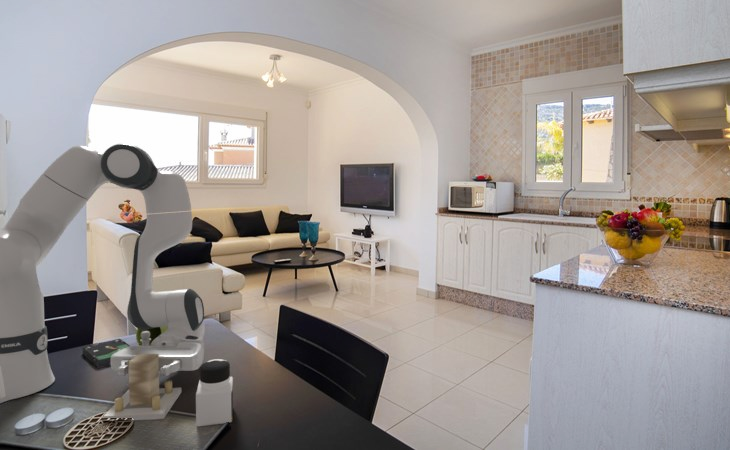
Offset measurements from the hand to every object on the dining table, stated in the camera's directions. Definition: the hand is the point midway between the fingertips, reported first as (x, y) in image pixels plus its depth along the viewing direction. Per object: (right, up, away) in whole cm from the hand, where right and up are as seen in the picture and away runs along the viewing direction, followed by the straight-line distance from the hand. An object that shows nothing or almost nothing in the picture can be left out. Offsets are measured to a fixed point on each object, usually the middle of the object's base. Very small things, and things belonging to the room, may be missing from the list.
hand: (142, 372), depth 92 cm
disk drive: (-26, -6, +30) cm, 40 cm away
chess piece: (-14, -6, +29) cm, 33 cm away
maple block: (0, -7, +1) cm, 7 cm away
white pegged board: (0, -8, +1) cm, 8 cm away
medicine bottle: (+17, -9, -2) cm, 19 cm away
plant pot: (-15, -2, +43) cm, 46 cm away
